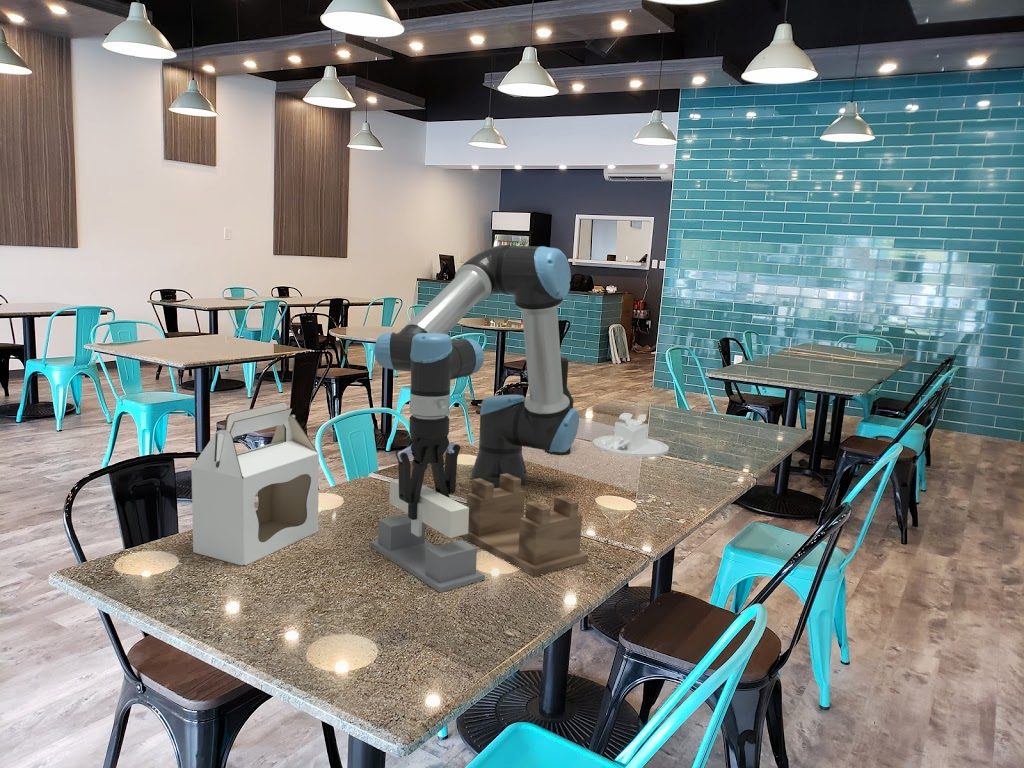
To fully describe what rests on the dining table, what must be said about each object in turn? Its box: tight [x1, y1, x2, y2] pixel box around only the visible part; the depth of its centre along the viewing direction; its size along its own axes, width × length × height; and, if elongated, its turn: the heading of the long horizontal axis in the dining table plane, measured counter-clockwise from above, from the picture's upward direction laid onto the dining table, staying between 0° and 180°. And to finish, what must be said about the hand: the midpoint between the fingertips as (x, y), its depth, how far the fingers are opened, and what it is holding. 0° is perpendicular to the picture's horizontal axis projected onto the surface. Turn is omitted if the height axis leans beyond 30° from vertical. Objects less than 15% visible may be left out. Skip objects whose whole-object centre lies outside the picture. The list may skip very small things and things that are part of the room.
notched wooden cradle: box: [460, 473, 589, 577], centre depth 159 cm, size 26×14×12 cm, turn 39°
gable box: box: [191, 401, 320, 567], centre depth 154 cm, size 22×13×28 cm, turn 155°
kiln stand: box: [369, 513, 486, 593], centre depth 149 cm, size 26×10×6 cm, turn 39°
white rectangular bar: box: [389, 478, 469, 539], centre depth 148 cm, size 22×4×5 cm, turn 39°
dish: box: [591, 412, 670, 458], centre depth 250 cm, size 25×25×11 cm
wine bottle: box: [544, 356, 575, 456], centre depth 238 cm, size 8×8×30 cm
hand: (426, 531), depth 149 cm, fingers closed on white rectangular bar, 4 cm apart
